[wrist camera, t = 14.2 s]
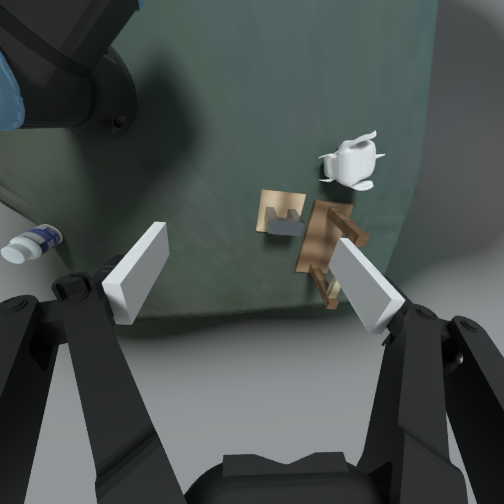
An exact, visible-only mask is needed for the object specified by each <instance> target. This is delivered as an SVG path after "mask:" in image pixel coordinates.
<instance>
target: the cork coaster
mask: <svg viewBox="0 0 504 504" xmlns="http://www.w3.org/2000/svg"><path fill="white" fill-rule="evenodd" d="M305 196H306V195H305V194H298V193H289V192H280V191H271V190H262V192H261V199H260V206H259V213H258V220H257V226H256V231H262V232H267V228H266V224H265V220H264V216H265V210H266V206H268V207H274V209H275V211H276V214H277V217H283V218H286V216H287V211H288V209H296V211H297V212H298V214H299V215H301V212H302V208H303V204H304V200H305Z"/></svg>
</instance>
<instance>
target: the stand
mask: <svg viewBox="0 0 504 504" xmlns="http://www.w3.org/2000/svg"><path fill="white" fill-rule="evenodd" d="M352 208H353V205H352V204H349V203H339V202H330V201H321V200H314V203H313V206H312V210H311V213H310V217H309V220H308V224H307V228H306V231H305V235H304V238H303V242H302V245H301V249H300V252H299V256H298V259H297V263H296V266H295V271H296V272H309V273H311V275H312V278H313V280H314V282H315V284H316V286H317V288H318V291H319V293H320V295H321V297H322V299H323V301H324V304H325V306H326V308H327V309H336V307H337V305H338V303H339V302H338V301H337V299H336V296H337V294H338V292H339V290H340V288H341V287H340V285H339V283H338V282H337V280H336V278H335V277H334V275H333V277H332V280H331V282H330V285H329V284H328V282H327V280H326V278H325V277H324V275H323V274H327V272H328V269H329V267H328V265H329V262H330V260H331V257H332V255H333V252H334V250H335V247H336V244H337V242H338V239H339V238H341V236H342V233H344V234H345V236H346V237H347V238H348V239H349V240H350V241H351V242H352V243H353V244H354V245H355V246H356V247H357V249H358V248H359V246H366V244H367V242H368V239H369V237H370V236H369V235H368V234H367V233H365V232H364V231H363V230H362V229H361V228H360V227H359V226H357V225H356V224H355V223H354V222H353V221H352V220H351V219H349V215H350V213H351V210H352Z"/></svg>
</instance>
